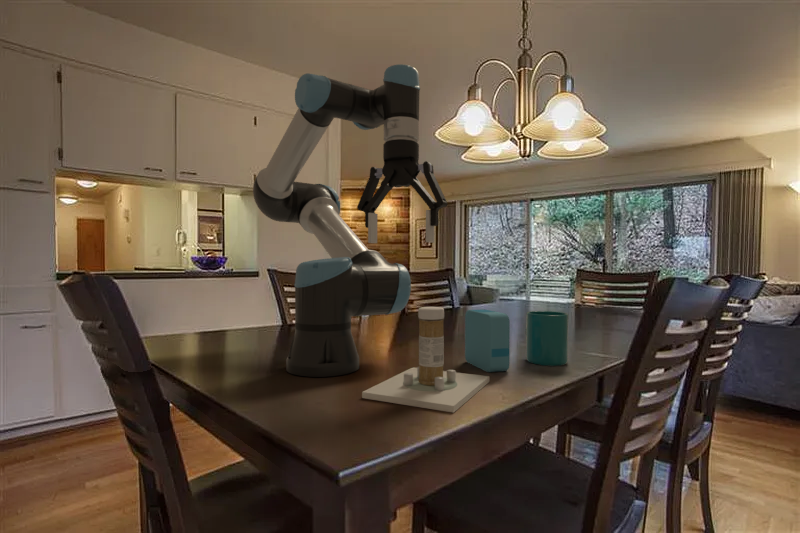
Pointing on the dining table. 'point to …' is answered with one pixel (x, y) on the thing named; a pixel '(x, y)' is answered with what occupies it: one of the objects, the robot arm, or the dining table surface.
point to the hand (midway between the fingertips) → (400, 242)
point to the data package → (487, 340)
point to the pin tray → (428, 390)
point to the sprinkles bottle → (430, 344)
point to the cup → (547, 338)
